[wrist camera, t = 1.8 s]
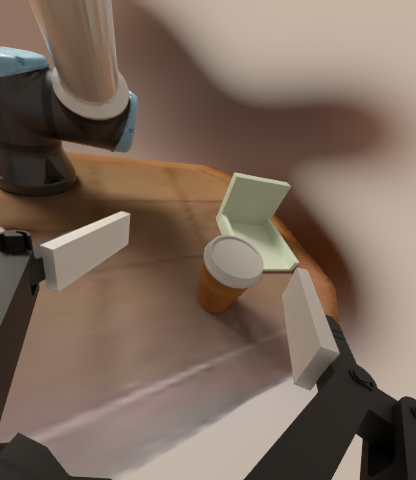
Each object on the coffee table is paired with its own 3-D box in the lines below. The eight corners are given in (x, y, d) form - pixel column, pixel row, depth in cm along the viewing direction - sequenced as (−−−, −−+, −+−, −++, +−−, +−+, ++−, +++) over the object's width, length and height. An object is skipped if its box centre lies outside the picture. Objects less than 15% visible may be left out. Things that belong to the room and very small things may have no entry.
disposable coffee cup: (177, 296, 36) (192, 250, 28) (208, 268, 43) (227, 225, 35) (219, 334, 33) (249, 294, 26) (245, 298, 40) (275, 258, 32)
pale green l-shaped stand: (215, 218, 57) (234, 172, 48) (262, 223, 62) (287, 182, 53) (235, 271, 44) (265, 222, 35) (291, 271, 50) (329, 228, 41)
